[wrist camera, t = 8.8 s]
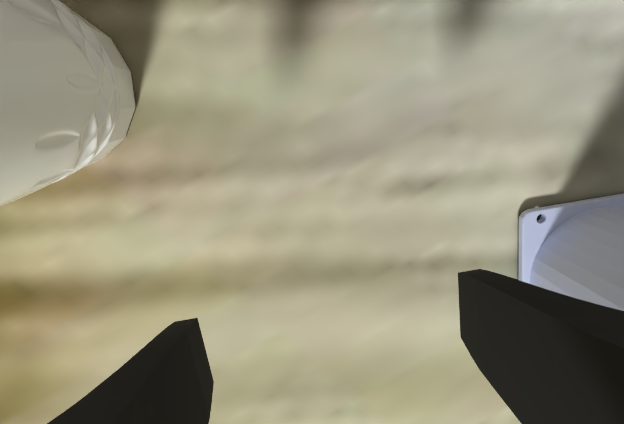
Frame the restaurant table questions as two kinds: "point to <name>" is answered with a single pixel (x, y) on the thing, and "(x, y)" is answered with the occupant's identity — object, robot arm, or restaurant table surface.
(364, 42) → the restaurant table surface
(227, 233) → the restaurant table surface
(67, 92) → the white cup
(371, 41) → the restaurant table surface
